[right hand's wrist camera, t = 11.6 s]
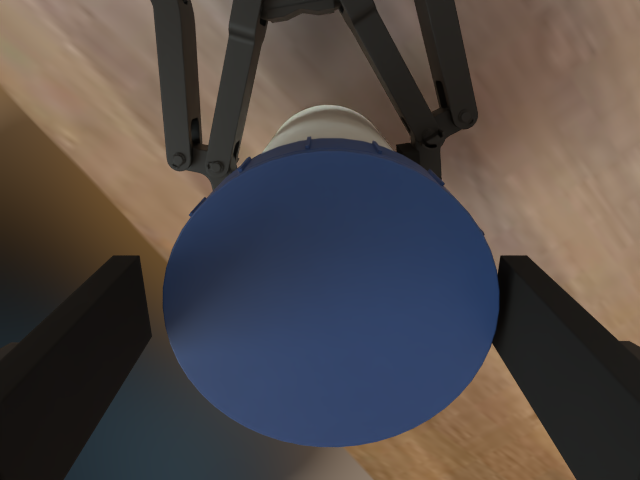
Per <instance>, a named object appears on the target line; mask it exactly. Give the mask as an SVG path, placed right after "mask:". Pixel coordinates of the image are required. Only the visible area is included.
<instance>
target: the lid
mask: <svg viewBox="0 0 640 480" xmlns="http://www.w3.org/2000/svg"><path fill="white" fill-rule="evenodd" d="M444 184H445V183H444V182H443V181H442V180H441V179H440V178H439V177H438V176H437V175H436V174H435V173H434V172H433V171H432V170H430V169H429V170H428V171H427V170H425V169H424V168H423V167H422V166H420V165H419V164H417V163H415V162H414V161H412V160H410V159H409V158H407V157H405V156H404V155H402V154H399V153H397V152H395V151H392V150H390V149H388V148H385V147H383V146H379V145H378V143H377V142H376V141H372V143H368V142H365V141H359V140H352V139H344V138H317V139H311V136H310V137H307V140H302V141H297V142H293V143H289V144H286V145H282V146H278V147H276V148H274V149H271V150H269V151H266V152H264V153H262V154H259V155H258V156H256V157H254V158H253V159H251V158H250V157H248V158H247V159H246V160H245V161H244V162H243V164H242V165H241V166H240V167H238V168H237V169H236V170H235V171H233V172H232V173H231V174H230V175H228V176H227V177H226V178H225V179H224V180H223V181H222V182H221V183H220V184H219V185H218V186H217V187H216V188H215V190H214V191H213V192H212V193H211V194H210V195H209V196H208V197H207V198H206V197H204V198H203V199H202V201H201V202H200V203H199V204H198V205H197V206H196V207H195V208H194V209H193V210H192V212H191V213H190V214H189V216H191V218H190V219H189V220H188V222H187V223H186V225H185V226H184V228H183V229H182V231H181V233H180V235H179V237H178V239H177V241H176V243H175V245H174V247H173V249H172V252H171V255H170V258H169V261H168V264H167V267H166V272H165V279H164V285H163V312H164V320H165V326H166V330H167V334H168V337H169V340H170V344H171V347H172V349H173V351H174V353H175V356H176V358H177V360H178V362H179V364H180V365H181V367H182V369H183V370H184V372H185V373H186V375H187V377H188V378H189V380H190V381H191V382H192V383H193V384H194V386H195V387H196V388H197V389H198V390H199V392H200V393H201V394H202V395H203V396H204V397H205V398H206V399H207V400H208V401H209V402H211V403H212V404H213V405H214V406H215V407H216V408H218V409H219V410H220V411H222V412H223V413H224V414H226V415H227V416H228V417H230V418H231V419H233V420H235V421H236V422H238V423H240V424H242V425H243V426H245V427H247V428H249V429H251V430H254V431H256V432H258V433H260V434H263V435H266V436H269V437H271V438H275V439H278V440H281V441H285V442H290V443H294V444H299V445H307V446H316V447H345V446H356V445H362V444H367V443H373V442H377V441H381V440H384V439H387V438H390V437H394V436H397V435H399V434H401V433H404V432H406V431H408V430H411V429H413V428H415V427H417V426H418V425H420V424H422V423H424V422H426V421H427V420H429V419H431V418H432V417H433V416H435V415H436V414H438V413H439V412H440V411H442V410H443V409H445V408H446V407H447V406H448V405H449V404H450V403H451V402H452V401H454V400H455V399H456V398H457V397H458V396H459V395H460V394H461V393H462V391H463V390H464V389H465V388H466V387H467V386H468V384H469V383H470V382H471V381H472V380H473V378H474V376H475V375H476V373H477V372H478V370H479V369H480V367H481V366H482V364H483V362H484V360H485V358H486V356H487V354H488V352H489V349H490V347H491V344H492V341H493V338H494V335H495V331H496V327H497V321H498V315H499V296H500V289H499V282H498V275H497V269H496V266H495V263H494V259H493V256H492V253H491V250H490V248H489V246H488V244H487V241H486V239H485V237H484V232H483V231H482V230H481V229H480V228H479V227H478V225H477V224H476V222H475V221H474V219H473V218H472V216H471V215H470V214H469V212H468V211H467V210H466V209H465V208H464V207H463V206H462V205H461V204H460V203H459V202H458V201H457V199H456V198H455V197H454V196H453V195H452V194H451V193H450V192H449V191H448V190H447V189H446V188H445V187H444V186H443V185H444Z"/></svg>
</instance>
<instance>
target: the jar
mask: <svg viewBox="0 0 640 480" xmlns="http://www.w3.org/2000/svg"><path fill="white" fill-rule="evenodd" d="M310 136H311V139H317V138H344V139H352V140H359V141H365V142H368V143H372V141H376V142H377V143H378V145H379V146H383V147H385V148H388V149H390V150H392V151H393V149H392V148H391V147H390V145H389V144H388V143H387V142H386V140H385V139H384V138H383V137H382V135H381V134H380V133H379V131H378V130H377V129H376V128H375V126H374V125H373V124H372V123H371V122H370V121H369V120H367V119H366V118H365V117H364V116H362V115H361V114H359V113H357V112H356V111H353V110H351V109H349V108H345V107H342V106H336V105H320V106H314V107H311V108H307V109H305V110H302V111H300V112H298V113H297V114H295V115H293V116H292V117H291V118H289V119H288V120H287V121H286V122H285V123H284V124H283V125H282V126H281V127H280V129H279V130H278V131H277V133H276V134H275V135H274V137H273V138H272V140H271V141H270V142H269V144H268V145H267V147H266V148H265V149H264V151H263V152H262V153H264V152H266V151H269V150H271V149H274V148H276V147H278V146H282V145H286V144H289V143H293V142H297V141H302V140H307V137H310Z"/></svg>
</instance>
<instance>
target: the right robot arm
mask: <svg viewBox="0 0 640 480" xmlns="http://www.w3.org/2000/svg"><path fill="white" fill-rule="evenodd" d="M498 282H499V289H500V296H499V315H498V321H497V327H496V331H495V335H494V338H493V341H492V344H493V345H494V347H495V348H496V350H497V352H498V353H499V355H500V356H501V358H502V360H503V361H504V363H505V365H506V366H507V368H508V369H509V371H510V373H511V374H512V376H513V378H514V379H515V381H516V382H517V384H518V386H519V387H520V389H521V391H522V392H523V394H524V395H525V397H526V399H527V400H528V402H529V404H530V405H531V407H532V408H533V410H534V412H535V413H536V415H537V416H538V418H539V420H540V421H541V423H542V425H543V426H544V428H545V429H546V431H547V433H548V434H549V436H550V438H551V439H552V441H553V442H554V444H555V446H556V447H557V449H558V451H559V452H560V454H561V455H562V457H563V459H564V460H565V462H566V463H567V465H568V467H569V468H570V470H571V472H572V473H573V475H574V476H575V478H576V480H640V347H639V346H637V345H636V344H634V343H632V342H630V341H618V340H617V339H616V338H615V337H614V336H613V335H612V334H611V333H610V332H609V331H608V330H607V329H605V328H604V327H603V326H602V325H601V324H600V323H599V322H598V321H597V320H596V319H595V318H594V317H593V316H591V315H590V314H589V313H588V312H587V311H586V310H585V309H584V308H583V307H582V306H581V305H580V304H578V303H577V302H576V301H575V300H574V299H573V298H572V297H571V296H570V295H569V294H568V293H567V292H566V291H564V290H563V289H562V288H561V287H560V286H559V285H558V284H557V283H556V282H555V281H554V280H553V279H552V278H550V277H549V276H548V275H547V274H546V273H545V272H544V271H543V270H542V269H541V268H540V267H539V266H537V265H536V264H535V263H534V262H533V261H532V260H531V259H530V258H529V257H528V256H500V263H499V269H498ZM151 337H152V334H151V327H150V321H149V314H148V308H147V301H146V295H145V289H144V282H143V276H142V269H141V263H140V256H112V257H111V258H110V259H109V260H108V261H107V262H106V263H105V264H104V265H103V266H101V267H100V268H99V269H98V270H97V271H96V272H95V273H94V274H93V275H92V276H91V277H90V278H88V279H87V280H86V281H85V282H84V283H83V284H82V285H81V286H80V287H79V288H78V289H77V290H76V291H74V292H73V293H72V294H71V295H70V296H69V297H68V298H67V299H66V300H65V301H64V302H63V303H62V304H60V305H59V306H58V307H57V308H56V309H55V310H54V311H53V312H52V313H51V314H50V315H49V316H48V317H46V318H45V319H44V320H43V321H42V322H41V323H40V324H39V325H38V326H37V327H36V328H35V329H33V330H32V331H31V332H30V333H29V334H28V335H27V336H26V337H25V338H24V339H23V340H22V341H21V342H19V343H10V344H8V345H6V346H4V347H2V348H0V480H64V478H65V476H66V475H67V473H68V472H69V470H70V468H71V467H72V465H73V463H74V462H75V460H76V459H77V457H78V455H79V454H80V452H81V451H82V449H83V447H84V446H85V444H86V442H87V441H88V439H89V438H90V436H91V434H92V433H93V431H94V429H95V428H96V426H97V425H98V423H99V421H100V420H101V418H102V416H103V415H104V413H105V412H106V410H107V408H108V407H109V405H110V403H111V402H112V400H113V399H114V397H115V395H116V394H117V392H118V391H119V389H120V387H121V386H122V384H123V382H124V381H125V379H126V378H127V376H128V374H129V373H130V371H131V369H132V368H133V366H134V365H135V363H136V361H137V360H138V358H139V356H140V355H141V353H142V352H143V350H144V348H145V347H146V345H147V344H148V342H149V340H150V339H151Z"/></svg>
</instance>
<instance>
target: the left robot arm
mask: <svg viewBox="0 0 640 480" xmlns="http://www.w3.org/2000/svg"><path fill="white" fill-rule="evenodd" d="M151 2H152V5H153V9H154V20H155V31H156V43H157V54H158V65H159V76H160V88H161V99H162V110H163V121H164V133H165V144H166V155H167V161H168V164H169V166H170V167H171V168H172V169H174V170H176V171H184V170H188V171H193V172H198V173H201V174H203V175H205V176H206V177H207V178H208V179H209V180H210V182H211V185H212V189H213V191H214V190H215V188H216V187H217V186H218V185H219V184H220V183H221V182H222V181H223V180H224V179H225V178H226V177H227V176H228V175H230V174H231V173H232V172H233V171H235V170H236V169H237V165H236V163H237V162H238V160H239V158H238V153H239V149H240V144H241V139H242V135H243V130H244V125H245V121H246V116H247V111H248V107H249V102H250V97H251V93H252V88H253V83H254V78H255V74H256V69H257V64H258V60H259V55H260V50H261V46H262V43H263V41H264V37H265V33H266V29H267V24H268V21H271V22H272V23H275V22H281V21H287V20H289V19H291V18H293V17H295V16H297V15H299V14H302V13H306V14H314V15H322V14H328V13H334V11H335V10H337V9H339V11H340V13H341V15H342V16H343V18H344V20H345V22H346V23H347V25H348V27H349V28H350V29H351V31H352V33H353V34H354V36H355V38H356V40H357V42H358V43H359V45H360V47H361V49H362V50H363V52H364V54H365V56H366V58H367V59H368V61H369V63H370V65H371V67H372V68H373V70H374V72H375V74H376V75H377V77H378V79H379V81H380V83H381V84H382V86H383V88H384V90H385V92H386V93H387V95H388V97H389V99H390V101H391V102H392V104H393V106H394V108H395V109H396V111H397V113H398V115H399V117H400V118H401V120H402V122H403V124H404V126H405V127H406V129H407V131H408V133H409V134H410V136H411V143H405V144H398V145H396V147H397V153H399V154H402V155H404V156H405V157H407V158H409V159H410V160H412V161H414V162H415V163H417V164H419V165H420V166H422V167H423V168H424V169H425V170H427V171H428V170H429V169H430V170H432V171H433V172H434V173H435V174H436V175H437V176H438V177H439V178H440V179H441V180H442V178H441V159H440V148H441V146H442V145H443V143H444V141H445V139H446V138H447V137H448V136H450V135H452V134H454V133H456V132H457V131H459V130H461V129H468V128H470V127H472V126H473V125H474V124H475V123H476V121H477V118H478V111H477V107H476V102H475V97H474V92H473V88H472V83H471V78H470V73H469V69H468V64H467V59H466V54H465V49H464V45H463V40H462V35H461V30H460V26H459V21H458V16H457V11H456V7H455V2H454V0H414V2H415V6H416V10H417V15H418V19H419V23H420V27H421V31H422V36H423V40H424V44H425V48H426V52H427V57H428V61H429V65H430V69H431V73H432V78H433V82H434V86H435V90H436V94H437V99H438V103H439V107H440V108H439V109H437V110H435V111H433V112H431V111H430V109H429V107H428V105H427V103H426V102H425V100H424V98H423V96H422V94H421V92H420V90H419V89H418V87H417V85H416V83H415V81H414V79H413V77H412V75H411V74H410V72H409V70H408V68H407V66H406V64H405V62H404V60H403V59H402V57H401V55H400V53H399V51H398V49H397V47H396V45H395V44H394V42H393V40H392V38H391V36H390V34H389V32H388V30H387V29H386V27H385V25H384V23H383V21H382V19H381V17H380V15H379V14H378V12H377V9H376V6H375V3H374V1H373V0H233V5H232V11H231V16H230V21H229V39H228V44H227V50H226V55H225V60H224V66H223V71H222V76H221V81H220V87H219V92H218V97H217V103H216V108H215V113H214V119H213V124H212V129H211V134H210V140H209V145H204V144H202V131H201V114H200V97H199V81H198V64H197V48H196V31H195V19H194V12H193V7H192V3H191V0H151Z"/></svg>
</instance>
